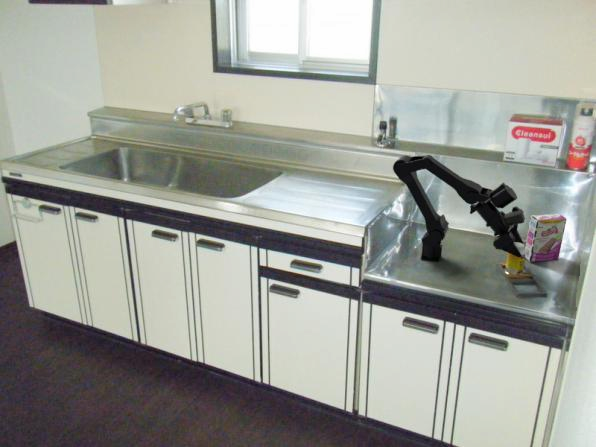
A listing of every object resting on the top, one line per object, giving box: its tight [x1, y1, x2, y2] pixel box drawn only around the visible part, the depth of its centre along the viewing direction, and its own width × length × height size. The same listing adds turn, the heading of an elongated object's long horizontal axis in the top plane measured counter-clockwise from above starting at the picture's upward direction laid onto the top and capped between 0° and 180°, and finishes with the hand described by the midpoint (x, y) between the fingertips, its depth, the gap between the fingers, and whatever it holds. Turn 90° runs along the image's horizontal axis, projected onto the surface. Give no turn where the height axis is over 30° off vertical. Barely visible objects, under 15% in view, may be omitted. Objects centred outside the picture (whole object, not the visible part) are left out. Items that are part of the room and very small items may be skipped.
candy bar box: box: [524, 213, 567, 263], centre depth 203 cm, size 11×5×16 cm, turn 100°
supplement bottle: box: [505, 242, 526, 275], centre depth 195 cm, size 6×6×10 cm
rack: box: [495, 261, 548, 298], centre depth 191 cm, size 22×10×1 cm, turn 178°
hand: (521, 251), depth 193 cm, fingers open, 9 cm apart
